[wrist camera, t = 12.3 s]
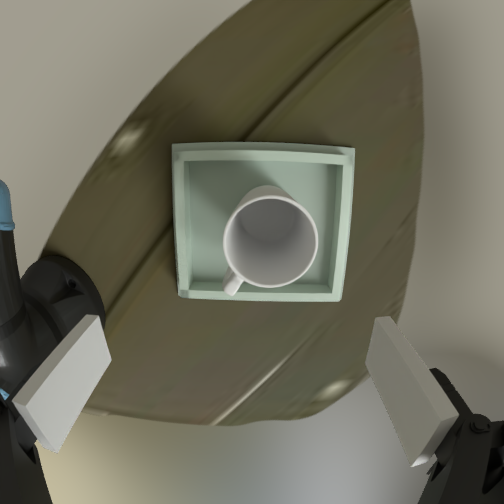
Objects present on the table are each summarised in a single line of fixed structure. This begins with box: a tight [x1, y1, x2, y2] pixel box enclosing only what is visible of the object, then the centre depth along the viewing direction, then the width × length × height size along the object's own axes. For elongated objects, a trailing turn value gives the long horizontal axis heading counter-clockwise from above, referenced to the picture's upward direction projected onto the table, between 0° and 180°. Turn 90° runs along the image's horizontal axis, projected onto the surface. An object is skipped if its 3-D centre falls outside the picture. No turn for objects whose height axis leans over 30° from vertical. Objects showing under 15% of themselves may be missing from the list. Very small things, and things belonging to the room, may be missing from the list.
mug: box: [222, 185, 318, 296], centre depth 27 cm, size 10×7×12 cm, turn 143°
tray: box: [172, 142, 355, 301], centre depth 32 cm, size 20×18×3 cm
